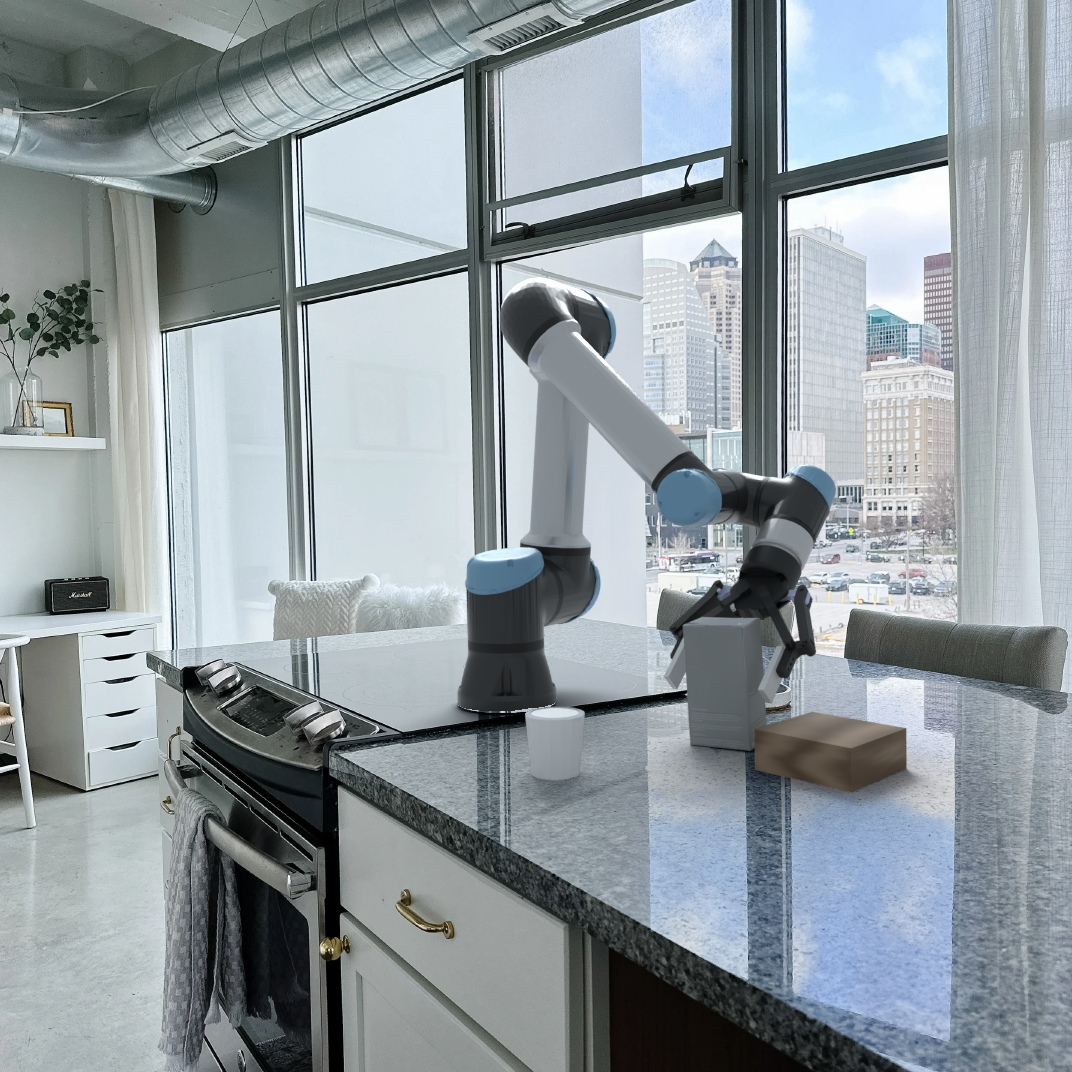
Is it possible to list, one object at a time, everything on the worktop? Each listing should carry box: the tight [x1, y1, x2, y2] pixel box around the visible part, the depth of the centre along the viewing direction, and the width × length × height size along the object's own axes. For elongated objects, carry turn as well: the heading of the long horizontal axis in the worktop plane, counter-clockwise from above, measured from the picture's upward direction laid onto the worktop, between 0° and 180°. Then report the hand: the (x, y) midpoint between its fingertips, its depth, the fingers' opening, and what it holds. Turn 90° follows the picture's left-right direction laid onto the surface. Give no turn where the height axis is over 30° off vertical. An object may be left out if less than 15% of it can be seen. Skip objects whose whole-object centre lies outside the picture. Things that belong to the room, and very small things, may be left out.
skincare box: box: [683, 617, 768, 752], centre depth 119 cm, size 8×7×16 cm
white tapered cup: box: [524, 706, 586, 781], centre depth 108 cm, size 7×7×7 cm
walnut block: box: [754, 711, 908, 793], centre depth 108 cm, size 12×12×5 cm
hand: (715, 689), depth 118 cm, fingers open, 13 cm apart
